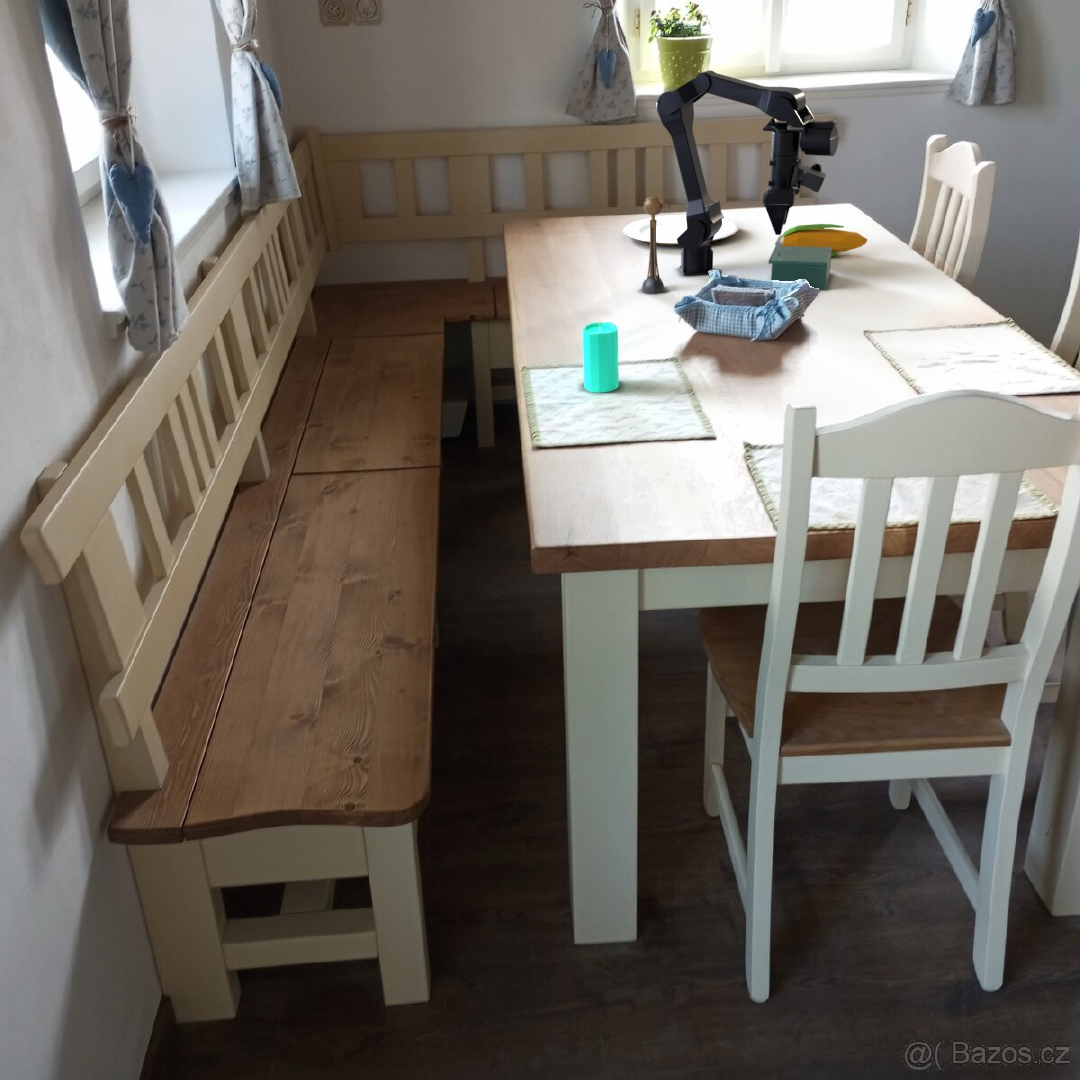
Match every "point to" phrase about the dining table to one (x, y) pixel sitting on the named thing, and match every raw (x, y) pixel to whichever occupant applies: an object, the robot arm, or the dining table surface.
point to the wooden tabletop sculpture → (653, 247)
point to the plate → (672, 229)
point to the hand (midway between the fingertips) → (780, 229)
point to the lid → (799, 254)
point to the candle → (600, 357)
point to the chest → (803, 273)
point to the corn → (823, 237)
